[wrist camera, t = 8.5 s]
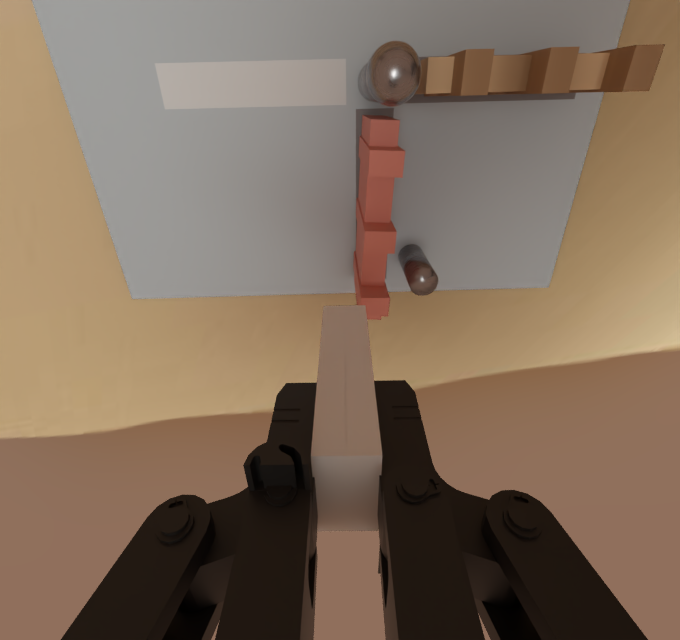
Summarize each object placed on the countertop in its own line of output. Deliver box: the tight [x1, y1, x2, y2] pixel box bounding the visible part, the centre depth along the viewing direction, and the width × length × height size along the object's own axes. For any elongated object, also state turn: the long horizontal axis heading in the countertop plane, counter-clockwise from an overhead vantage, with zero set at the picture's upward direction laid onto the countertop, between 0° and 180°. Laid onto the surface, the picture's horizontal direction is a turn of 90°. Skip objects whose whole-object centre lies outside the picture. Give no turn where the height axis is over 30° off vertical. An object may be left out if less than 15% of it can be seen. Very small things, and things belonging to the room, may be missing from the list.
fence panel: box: [353, 115, 405, 320], centre depth 20 cm, size 10×1×6 cm, turn 178°
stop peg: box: [398, 244, 438, 296], centre depth 22 cm, size 2×2×4 cm
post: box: [358, 41, 422, 107], centre depth 16 cm, size 2×2×8 cm
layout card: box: [32, 0, 630, 299], centre depth 22 cm, size 28×16×1 cm, turn 91°
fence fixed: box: [415, 44, 665, 96], centre depth 16 cm, size 9×1×6 cm, turn 91°
